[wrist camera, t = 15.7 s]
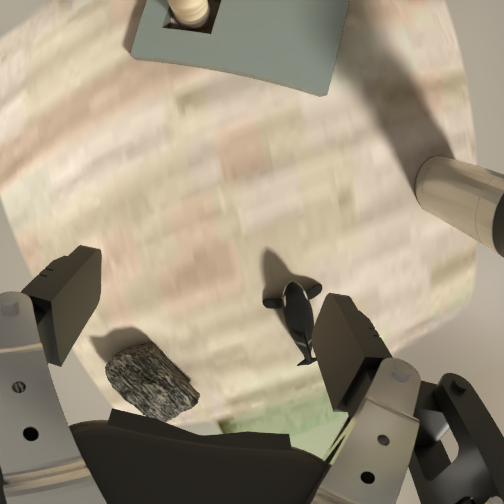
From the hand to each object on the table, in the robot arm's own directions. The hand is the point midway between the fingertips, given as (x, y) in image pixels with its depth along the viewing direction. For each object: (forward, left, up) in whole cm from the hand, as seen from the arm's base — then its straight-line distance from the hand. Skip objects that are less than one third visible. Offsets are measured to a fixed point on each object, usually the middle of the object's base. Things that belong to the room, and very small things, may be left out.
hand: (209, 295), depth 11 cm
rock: (+5, +37, -32) cm, 49 cm away
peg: (+8, -19, -32) cm, 38 cm away
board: (+2, -19, -31) cm, 37 cm away
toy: (-17, +21, -32) cm, 42 cm away
